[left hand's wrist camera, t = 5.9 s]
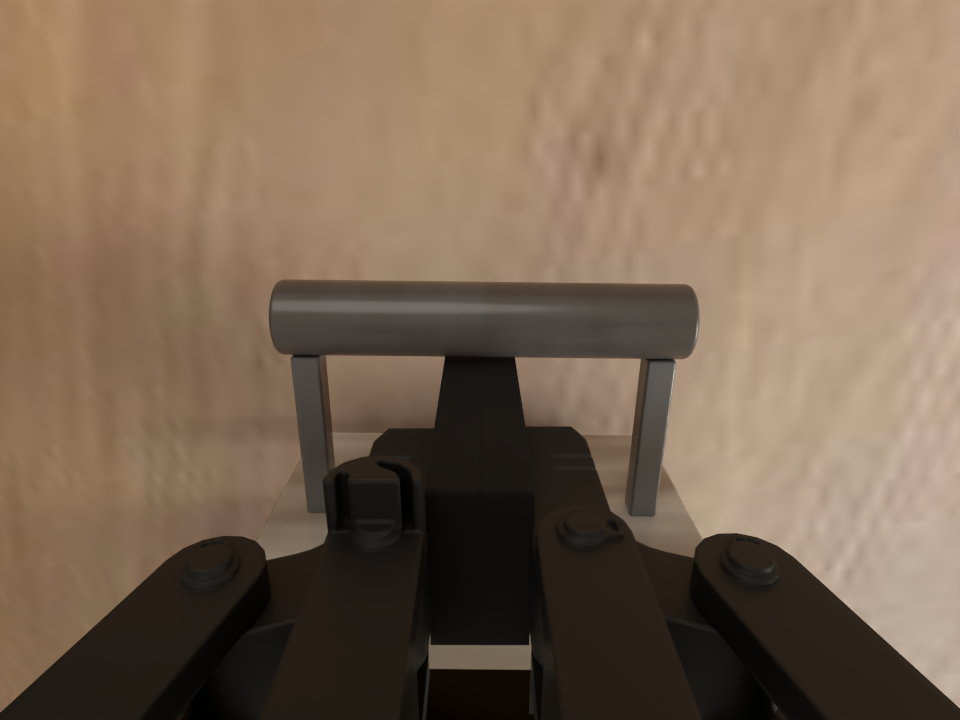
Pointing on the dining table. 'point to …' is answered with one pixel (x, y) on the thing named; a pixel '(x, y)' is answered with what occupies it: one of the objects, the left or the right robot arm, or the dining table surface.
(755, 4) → the dining table surface
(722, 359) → the dining table surface
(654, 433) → the drawer
